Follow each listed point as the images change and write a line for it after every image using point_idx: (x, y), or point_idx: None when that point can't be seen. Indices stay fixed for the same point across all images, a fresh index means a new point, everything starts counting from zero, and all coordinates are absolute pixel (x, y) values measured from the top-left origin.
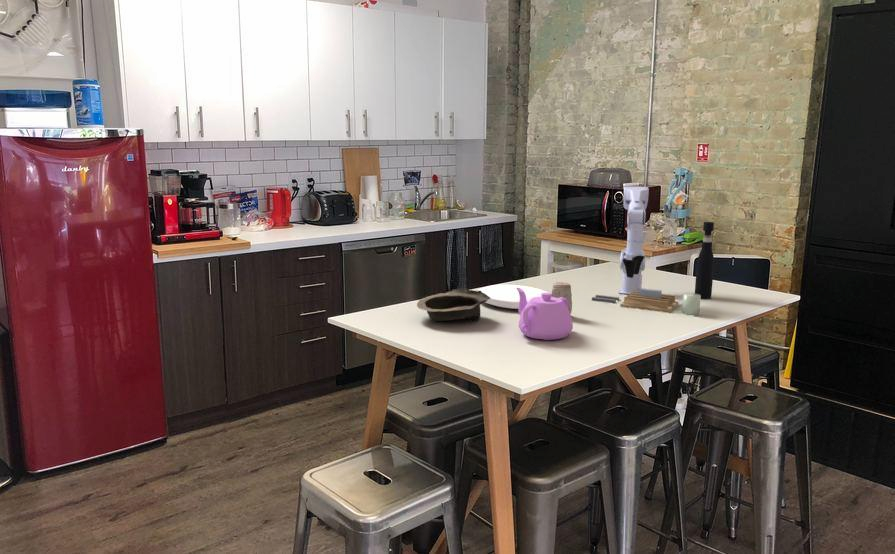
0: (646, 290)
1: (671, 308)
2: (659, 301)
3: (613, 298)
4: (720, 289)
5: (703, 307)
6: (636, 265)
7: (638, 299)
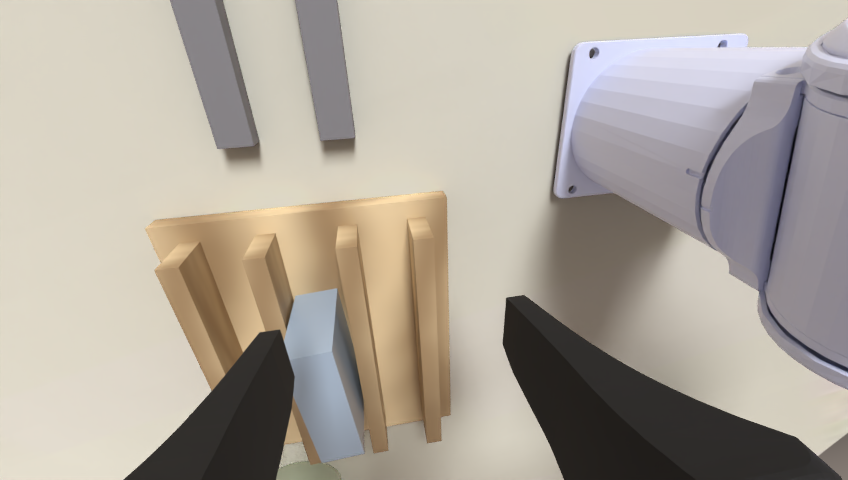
0: (297, 399)
1: (297, 439)
2: None
3: (314, 99)
4: (796, 404)
5: (449, 470)
6: (560, 419)
7: (198, 353)
